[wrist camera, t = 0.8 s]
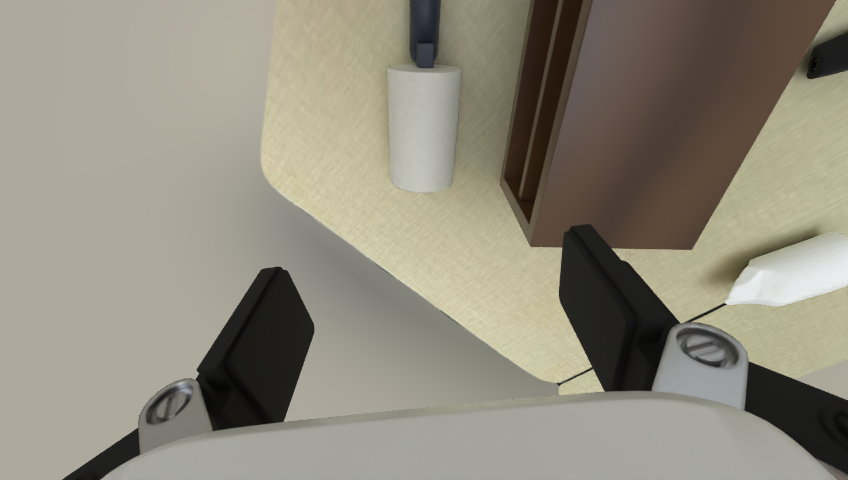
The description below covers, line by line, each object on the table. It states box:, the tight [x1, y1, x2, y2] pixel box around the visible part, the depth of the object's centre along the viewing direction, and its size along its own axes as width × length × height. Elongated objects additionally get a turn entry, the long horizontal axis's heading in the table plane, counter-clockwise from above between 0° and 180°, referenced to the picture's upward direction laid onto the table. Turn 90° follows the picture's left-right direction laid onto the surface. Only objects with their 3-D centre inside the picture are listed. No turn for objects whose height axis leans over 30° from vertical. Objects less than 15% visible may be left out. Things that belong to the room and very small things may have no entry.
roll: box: [723, 232, 848, 307], centre depth 37 cm, size 6×12×6 cm, turn 117°
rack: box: [500, 0, 836, 250], centre depth 24 cm, size 12×18×11 cm, turn 178°
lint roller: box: [387, 0, 462, 193], centre depth 26 cm, size 16×6×6 cm, turn 178°
